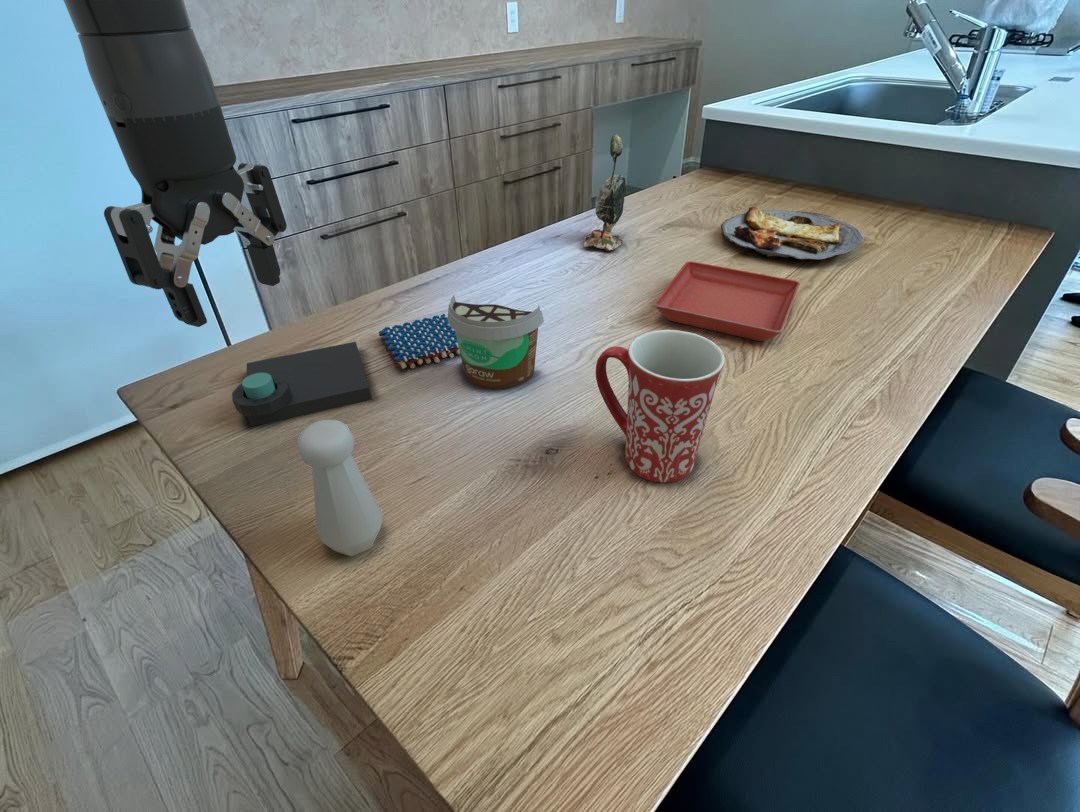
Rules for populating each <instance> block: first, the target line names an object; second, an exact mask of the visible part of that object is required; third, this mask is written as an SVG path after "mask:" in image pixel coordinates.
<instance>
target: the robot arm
mask: <svg viewBox="0 0 1080 812" xmlns="http://www.w3.org/2000/svg"><path fill="white" fill-rule="evenodd" d="M62 1H63V3H64V6H65V8H66V10H67V13H68V15H69V17H70V20H71V23H72V25H73V27H74V30H75V32H76V33H78V34H77V37H78V40H79V44H80V47H81V49H82V53H83V57H84V60H85V64H86V67H87V71H88V73H89V76H90V79H91V81H92V84H93V86H94V88H95V91H96V93H97V95H98V99H99V100H100V103H101V105H102V107H103V110H104V112H105V115H106V118H107V120H108V122H109V125H110V127H111V129H112V132H113V134H114V136H115V139H116V141H117V144H118V146H119V149H120V150H121V153H122V156H123V158H124V161H125V163H126V165H127V167H128V170H129V172H130V174H131V175H132V176H133V178H134V179H135V180H136V182H137V183H138V185H139V188H140V191H141V202H139V203H136V204H131V205H128V206H123V207H122V206H113V205H110V206H109V205H108V206H106V207H105V209H104V211H103V217H104V219H105V221H106V224H107V227H108V229H109V232H110V235H111V236H112V240H113V242H114V245H115V247H116V249H117V252H118V255H119V257H120V258H121V262H122V264H123V267H124V269H125V272H126V275H127V277H128V279H129V281H130V283H132V284H133V285H136V286H143V287H147V288H150V289H154V290H161V289H162V291H163V293H164V296H165V298H166V300H167V302H168V304H169V307H170V309H171V311H172V314H173V315H174V317H175V319H177V320H178V321H179V322H183V323H184V324H185V325H188V326H192V327H197V328H200V327H202V326H204V325H206V324H207V323H208V319H207V317H206V314H205V312H204V309H203V307H202V304H201V302H200V299H199V296H198V293H197V291H196V289H195V287H194V284H193V283H189V280H190V274H191V271H192V265H193V262H194V261H196V260H197V259H198V258H199V255H200V249H201V245H204V246H205V245H207V244H210V243H212V242H214V241H215V240H216V239H217V238H219V237H221V236H229V235H231V234H233V233H236V234H237V235H238V236H239V237H241V238H243V239H244V240H245V241H246V242H247V243H249V244H247V245H246V249H247V252H248V255H249V259H250V262H251V265H252V267H253V271H254V273H255V276H256V280H257V281H258V282H259V283H260V284H262V285H266V286H271V287H274V286H276V285H278V284H280V283H281V278H280V276H281V268H280V264H279V261H278V258H277V254H276V250H275V247H274V244H275V237H276V236H277V235H278V234H279V233H284V232H285V231H286V230H287V227H288V226H287V225H288V224H287V220H286V219H285V215H284V212H283V209H282V205H281V203H280V199H279V197H278V194H277V191H276V187H275V185H274V181H273V178H272V175H271V173H270V170H269V168H268V167H267V166H266V165H261V164H254V163H245V162H241V163H239V165H238V166H237V170H236V168H235V167H234V165H235V164H236V161H237V155H236V152H235V148H234V145H233V142H232V138H231V135H230V133H229V132H230V131H229V129H228V126H227V123H226V120H225V116H224V113H223V109H222V106H221V103H220V100H219V97H218V93H217V91H216V88H215V83H214V81H213V77H212V74H211V72H210V67H209V66H208V63H207V60H206V57H205V56H204V53H203V50H202V49H201V47H200V44H199V42H198V39H197V37H196V35H195V32H194V29H193V28H192V23H191V19H190V17H189V16H190V15H189V14H188V10H187V6H186V3H185V1H184V0H62ZM244 193H245V194H246V197H247V200H248V203H249V205H250V208H251V210H249V209H248V208H247V207H246V206H245V205H243V204H242V201H243V196H244ZM251 211H252V212H251ZM151 221H154V223H156V224H158V225H157V226H158V227H157V231H156V236H155V241H154V244H153V242H152V238H151V236H150V233H152V232H153V230H154V228H153V226H152V225H151ZM176 238H177V239H179V240H180V241H181V243H179V245H178V244H177V245H176V243H175V242H176V241H175V240H176Z"/></svg>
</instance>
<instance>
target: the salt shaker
mask: <svg viewBox="0 0 1080 812" xmlns="http://www.w3.org/2000/svg"><path fill="white" fill-rule="evenodd" d="M354 439H355V438H354V435H353V434H352V432H351V430H350V428H349V426H348V425H347V424H346V423H344V422H342V421H340V420H337V419H322V420H318V421H315V422H313V423H311V424H309V425H307V427H305V428H304V429H303V430H302V431H301V432H300V433H299V435H298V438H297V441H296V442H297V449H298V452H299V455H300V458H301V460H302V461H303V462H304V464H306V465H308V466H310V467H311V468H312V482H313V497H314V512H315V513H314V514H315V528H316V531H317V534H318V538H319V540H320V541H321V543H323V544H324V545H325V546H327V547H328V548H330V549H331V550H333V551H334V552H336V553H339V554H342V555H345V556H348V557H354V556H356V555H359V554H361V553H364V552H366V551H369V550H371V549H372V547H373V545H374V543H375V541H376V539H377V537H378V535H379V533H380V531H381V529H382V524H383V519H384V513H383V511H382V510H381V507H380V506H379V504H378V501H377V500H376V498H375V496H374V494H373V493H372V491H371V489H370V487H369V485H368V483H367V481H366V480H365V478H364V476H363V474H362V472H361V470H360V469H359V466H358V465H357V463H356V461H355V459H354V457H353V455H352V453H353V451H354V447H355V440H354Z"/></svg>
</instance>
